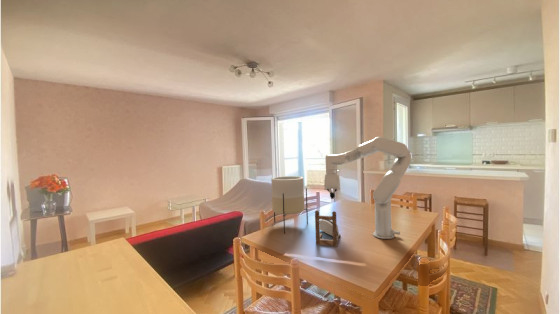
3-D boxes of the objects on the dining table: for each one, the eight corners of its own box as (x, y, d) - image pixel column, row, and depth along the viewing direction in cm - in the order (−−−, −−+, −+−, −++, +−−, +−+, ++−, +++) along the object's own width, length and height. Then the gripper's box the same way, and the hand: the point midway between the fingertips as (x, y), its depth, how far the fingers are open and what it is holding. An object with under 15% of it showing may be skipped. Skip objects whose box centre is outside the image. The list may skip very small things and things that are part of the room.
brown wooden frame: (339, 239, 141) (338, 207, 141) (337, 246, 131) (336, 212, 131) (319, 237, 146) (318, 206, 145) (315, 244, 135) (314, 210, 135)
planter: (293, 235, 152) (292, 180, 151) (261, 229, 166) (259, 179, 165) (310, 224, 174) (308, 176, 174) (280, 219, 188) (278, 175, 188)
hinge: (341, 237, 145) (339, 222, 145) (335, 239, 143) (333, 224, 143) (325, 229, 160) (323, 216, 160) (319, 231, 158) (318, 217, 158)
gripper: (343, 171, 161) (344, 197, 161) (321, 171, 166) (322, 197, 166) (341, 172, 154) (342, 199, 154) (319, 172, 159) (320, 199, 159)
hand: (332, 198), depth 160 cm, fingers closed
